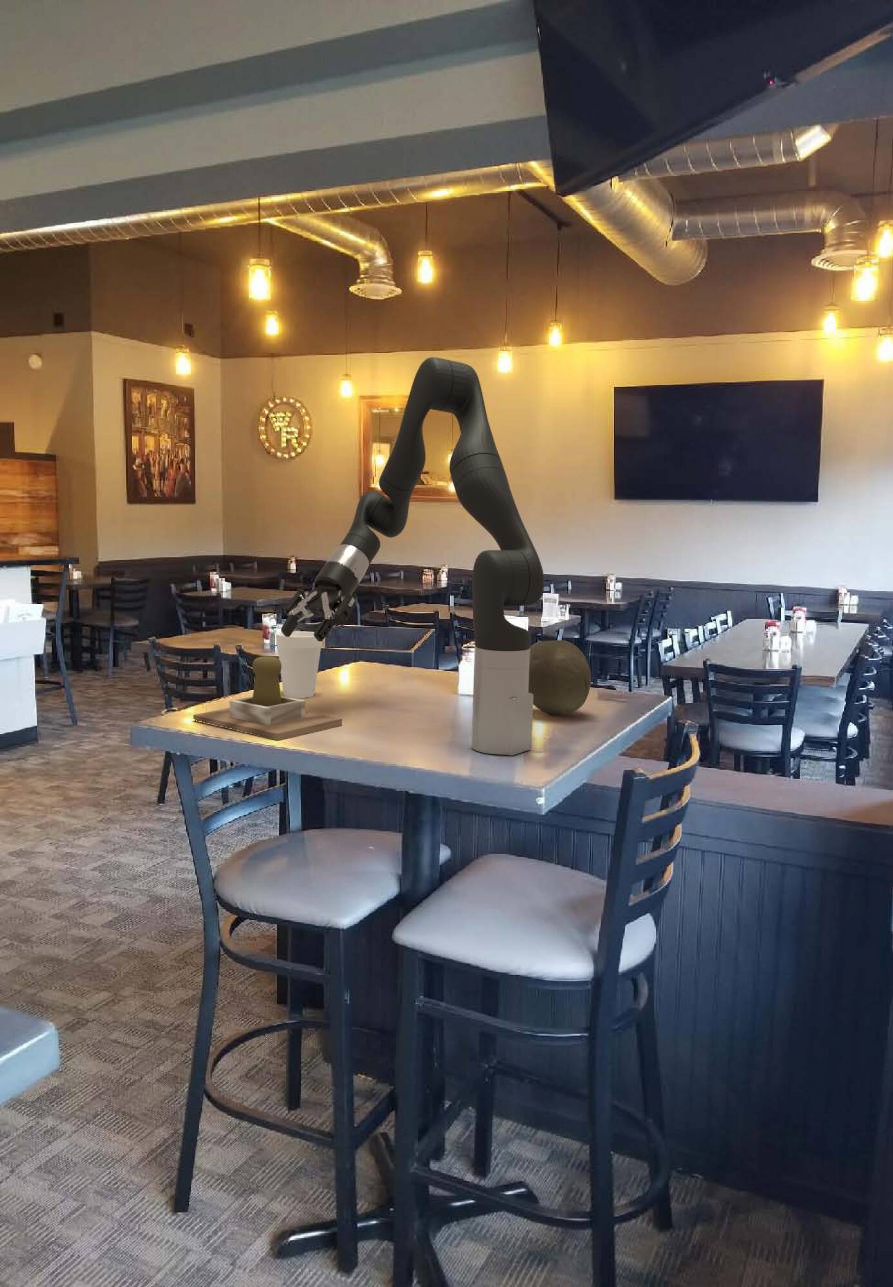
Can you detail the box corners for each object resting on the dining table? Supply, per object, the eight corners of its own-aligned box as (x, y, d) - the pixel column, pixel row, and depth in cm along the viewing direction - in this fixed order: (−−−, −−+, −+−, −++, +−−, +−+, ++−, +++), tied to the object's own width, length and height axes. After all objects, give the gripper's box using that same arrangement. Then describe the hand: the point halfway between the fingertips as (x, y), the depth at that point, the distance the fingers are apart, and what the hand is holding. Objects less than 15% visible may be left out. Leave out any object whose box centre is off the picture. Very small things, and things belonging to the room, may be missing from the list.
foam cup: (268, 697, 200) (268, 635, 199) (289, 689, 209) (289, 630, 207) (309, 701, 197) (309, 638, 196) (328, 693, 206) (329, 633, 204)
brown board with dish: (342, 725, 176) (342, 702, 175) (277, 740, 163) (277, 716, 163) (258, 708, 189) (258, 687, 188) (193, 721, 176) (193, 698, 175)
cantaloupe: (569, 706, 199) (572, 634, 197) (601, 721, 186) (605, 644, 183) (506, 709, 194) (508, 635, 192) (534, 724, 181) (537, 645, 179)
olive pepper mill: (276, 720, 173) (276, 660, 171) (244, 718, 174) (244, 658, 172) (288, 714, 179) (288, 655, 177) (257, 711, 180) (257, 653, 178)
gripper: (306, 558, 190) (263, 620, 182) (361, 561, 182) (318, 626, 174) (324, 583, 195) (283, 645, 187) (379, 588, 187) (338, 653, 179)
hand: (300, 636), depth 180 cm, fingers open, 8 cm apart
